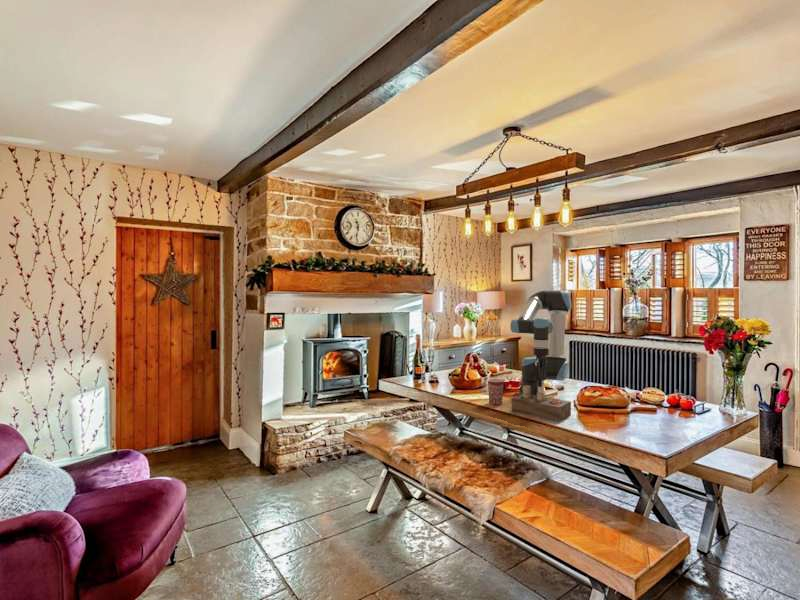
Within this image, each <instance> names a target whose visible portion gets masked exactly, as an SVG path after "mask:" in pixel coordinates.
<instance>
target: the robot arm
mask: <svg viewBox="0 0 800 600" xmlns="http://www.w3.org/2000/svg"><path fill="white" fill-rule="evenodd" d="M528 297H529V296H528ZM541 310H547V312H548V313H549V315H550V318H547V317H536V315H537V313H539V311H541ZM571 310H572V298H571V294H570V292H569V291H567V290H540V291H537V292H535V293H533V294H532V295H531V296H530V297H529V298H528V299H527V300H526V302H525V307H524V309H522V312H521V314H520V315H519V316H518V318H516V319H511V321H510V327H509V328H510V331H511V333H513V334H531V335H532V334H533V341H532V343H533V355H534V356H528V357H524V358H523V359H522V360H521V383H520V387H519V388H518V396H519V395H522V394H523V386H531V393H530V395H535V396H537V392H538V393H545V381H546V380H548V381H549V380H550V381H556V382H558V381H560V382H561V381H565V380H566V379H567V377H568V374H569V369H570V367H569V365H570V362H569V361H568V360H567V358H566V356H565V355H564V354H565V332H566V317H567V315H568V314H569V311H571ZM549 319H550V320H549ZM545 394H546V393H545Z"/></svg>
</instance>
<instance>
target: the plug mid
mask: <svg viewBox="0 0 800 600" xmlns="http://www.w3.org/2000/svg"><path fill="white" fill-rule="evenodd" d="M545 397H546V393H538V392H537V401H542V402H544V401H545Z"/></svg>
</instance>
